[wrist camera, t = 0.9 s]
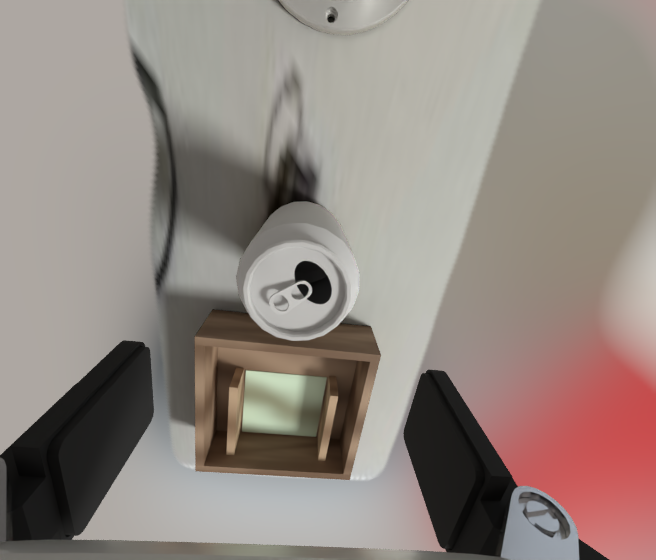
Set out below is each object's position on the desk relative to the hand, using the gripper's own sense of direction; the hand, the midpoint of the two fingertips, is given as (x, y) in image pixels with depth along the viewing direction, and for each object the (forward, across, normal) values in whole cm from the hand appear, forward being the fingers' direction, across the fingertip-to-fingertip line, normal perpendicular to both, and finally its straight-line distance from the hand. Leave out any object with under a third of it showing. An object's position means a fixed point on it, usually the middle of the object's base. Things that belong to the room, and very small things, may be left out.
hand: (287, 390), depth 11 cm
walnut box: (+19, 0, +15) cm, 25 cm away
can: (+19, 0, -1) cm, 19 cm away
